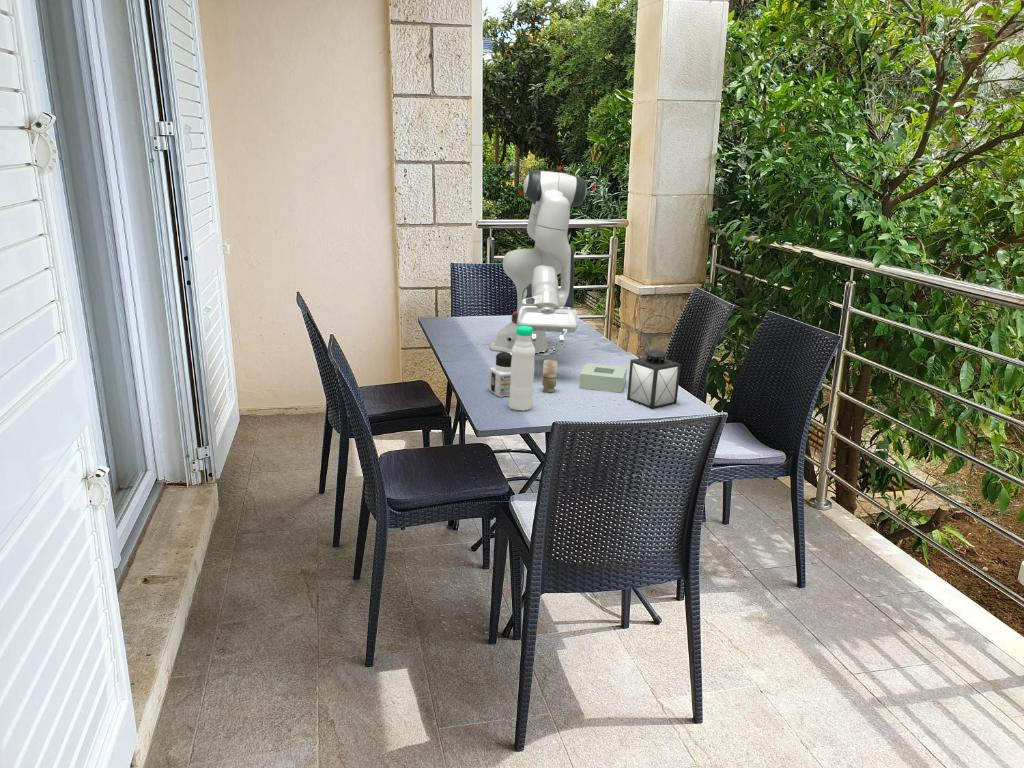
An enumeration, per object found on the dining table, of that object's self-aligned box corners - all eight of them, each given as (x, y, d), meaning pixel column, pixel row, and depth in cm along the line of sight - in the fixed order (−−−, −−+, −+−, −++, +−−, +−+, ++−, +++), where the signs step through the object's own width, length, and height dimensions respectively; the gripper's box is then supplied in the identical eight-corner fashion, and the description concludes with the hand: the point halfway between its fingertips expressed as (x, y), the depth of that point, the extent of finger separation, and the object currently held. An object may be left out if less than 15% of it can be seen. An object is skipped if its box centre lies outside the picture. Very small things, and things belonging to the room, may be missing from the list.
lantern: (626, 399, 255) (634, 313, 247) (651, 394, 262) (659, 310, 253) (652, 409, 247) (661, 320, 238) (676, 404, 253) (686, 317, 245)
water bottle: (507, 404, 245) (511, 324, 238) (530, 404, 246) (535, 324, 239) (509, 411, 238) (513, 329, 231) (533, 411, 239) (538, 330, 232)
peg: (540, 392, 258) (542, 362, 255) (543, 388, 262) (545, 359, 259) (554, 393, 257) (556, 363, 254) (556, 390, 261) (558, 360, 259)
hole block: (579, 388, 264) (580, 373, 263) (585, 377, 278) (586, 363, 276) (621, 392, 262) (623, 378, 260) (625, 381, 275) (627, 367, 273)
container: (499, 397, 251) (501, 357, 247) (488, 390, 257) (490, 351, 254) (521, 395, 254) (523, 355, 251) (509, 388, 261) (511, 349, 257)
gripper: (574, 313, 274) (577, 347, 267) (515, 309, 272) (516, 344, 265) (578, 302, 268) (580, 337, 262) (517, 299, 266) (518, 334, 259)
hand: (547, 341), depth 263 cm, fingers open, 8 cm apart
